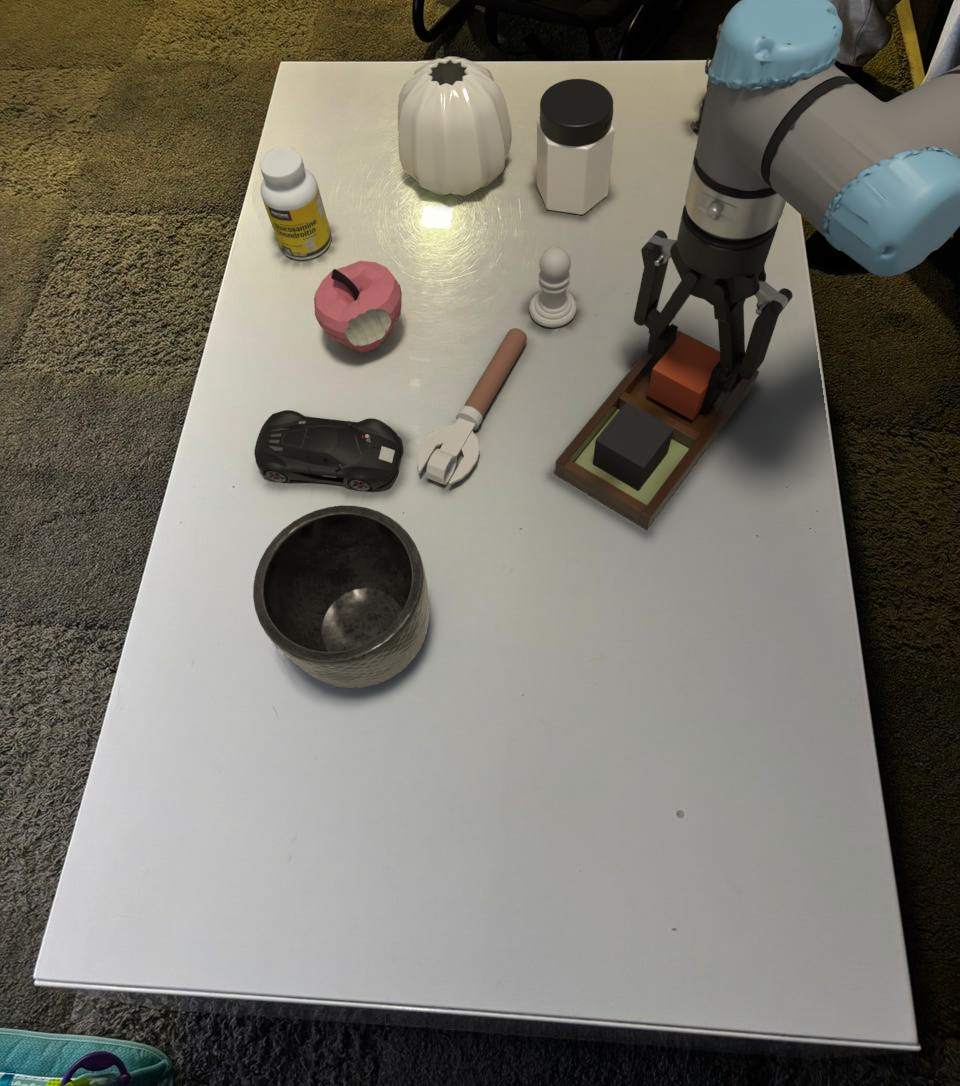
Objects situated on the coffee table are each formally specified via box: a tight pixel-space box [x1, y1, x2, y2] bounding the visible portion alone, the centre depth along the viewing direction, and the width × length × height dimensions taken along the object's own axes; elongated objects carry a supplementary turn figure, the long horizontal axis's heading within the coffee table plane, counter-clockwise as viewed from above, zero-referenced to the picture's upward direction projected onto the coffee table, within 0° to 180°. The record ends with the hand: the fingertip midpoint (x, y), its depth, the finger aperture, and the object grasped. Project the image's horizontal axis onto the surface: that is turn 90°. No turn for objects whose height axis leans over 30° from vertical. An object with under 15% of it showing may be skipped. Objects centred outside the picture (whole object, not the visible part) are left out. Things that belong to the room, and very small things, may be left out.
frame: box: [554, 329, 760, 531], centre depth 84 cm, size 11×21×3 cm, turn 143°
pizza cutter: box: [416, 327, 528, 486], centre depth 87 cm, size 20×6×3 cm, turn 154°
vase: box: [397, 55, 513, 197], centre depth 98 cm, size 14×14×13 cm
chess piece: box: [528, 246, 578, 329], centre depth 89 cm, size 5×5×9 cm
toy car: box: [254, 409, 404, 493], centre depth 84 cm, size 7×15×4 cm, turn 81°
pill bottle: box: [259, 146, 332, 261], centre depth 95 cm, size 6×6×12 cm
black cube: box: [593, 402, 674, 491], centre depth 81 cm, size 6×6×4 cm
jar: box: [536, 78, 615, 216], centre depth 96 cm, size 9×8×12 cm
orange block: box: [647, 333, 720, 420], centre depth 84 cm, size 6×6×4 cm
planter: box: [252, 504, 431, 689], centre depth 72 cm, size 14×14×13 cm
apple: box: [313, 260, 403, 354], centre depth 89 cm, size 10×9×10 cm
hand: (684, 388), depth 86 cm, fingers closed on orange block, 5 cm apart
